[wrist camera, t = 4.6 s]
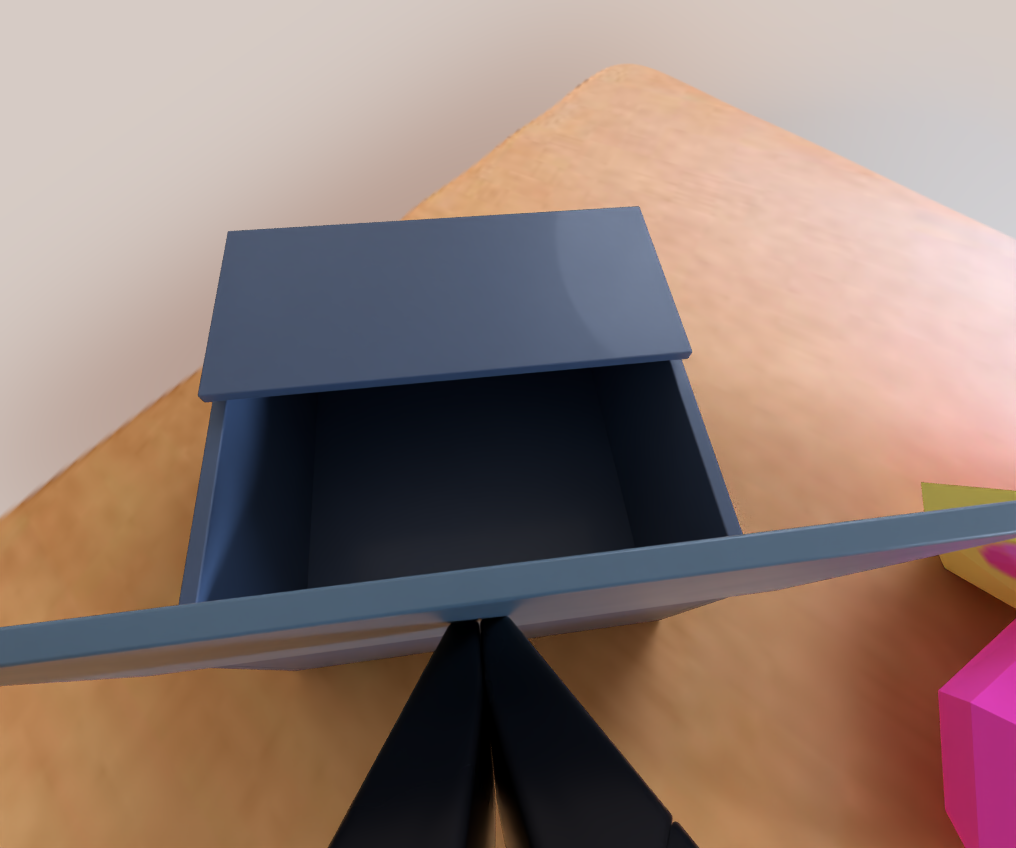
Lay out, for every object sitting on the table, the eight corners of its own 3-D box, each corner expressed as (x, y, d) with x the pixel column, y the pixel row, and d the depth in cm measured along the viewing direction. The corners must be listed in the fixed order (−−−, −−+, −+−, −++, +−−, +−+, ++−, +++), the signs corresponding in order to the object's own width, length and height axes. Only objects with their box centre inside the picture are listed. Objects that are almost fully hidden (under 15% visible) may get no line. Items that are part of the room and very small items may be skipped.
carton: (660, 619, 18) (779, 580, 10) (294, 671, 17) (143, 666, 9) (592, 352, 23) (640, 204, 16) (313, 377, 22) (226, 229, 15)
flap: (771, 573, 11) (777, 590, 10) (151, 656, 9) (147, 676, 9) (1047, 494, 5) (1067, 526, 5) (-261, 659, 4) (-281, 705, 4)
